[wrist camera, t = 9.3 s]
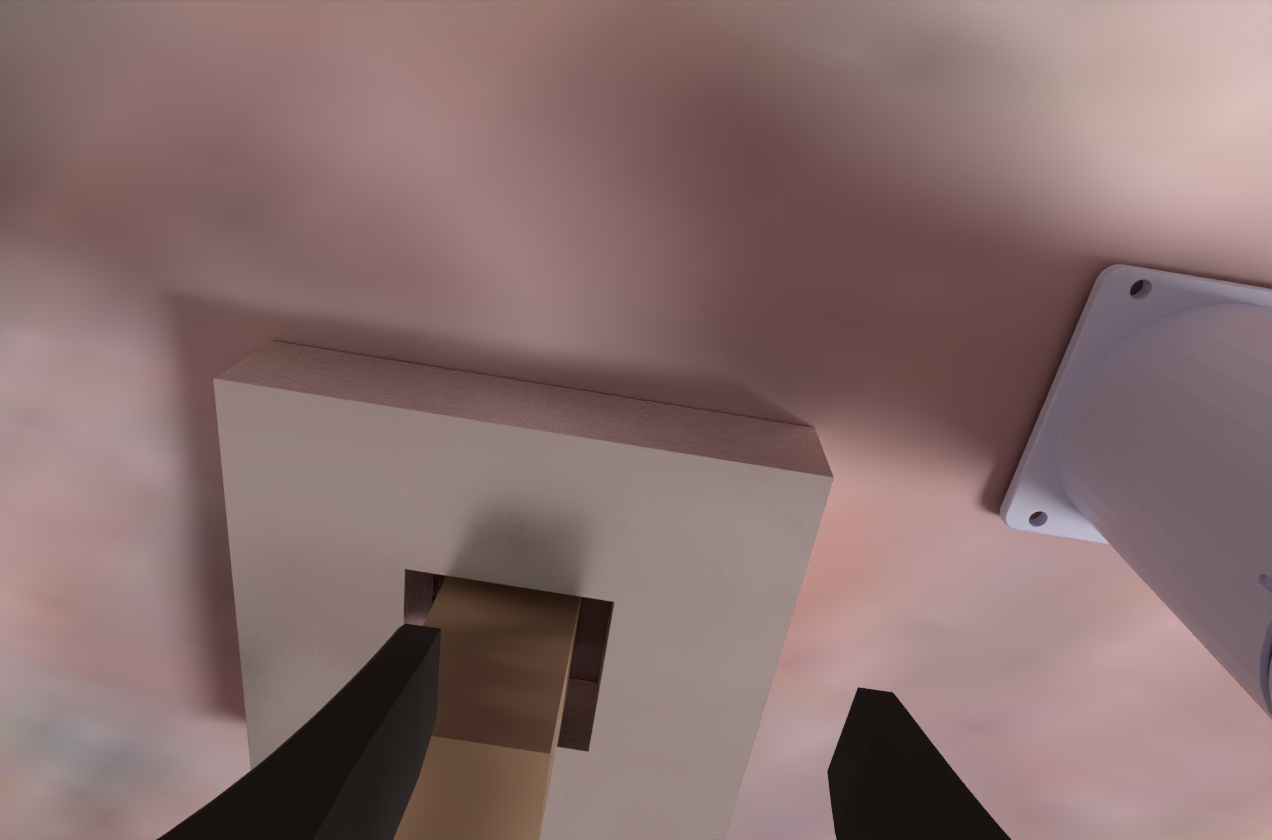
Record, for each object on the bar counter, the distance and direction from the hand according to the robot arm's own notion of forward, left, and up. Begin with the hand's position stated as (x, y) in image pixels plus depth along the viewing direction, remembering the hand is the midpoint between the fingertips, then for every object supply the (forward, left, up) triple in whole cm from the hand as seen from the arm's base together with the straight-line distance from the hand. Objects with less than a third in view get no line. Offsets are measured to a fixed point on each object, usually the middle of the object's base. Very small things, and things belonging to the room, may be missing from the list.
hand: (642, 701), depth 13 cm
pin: (+4, +6, -10) cm, 13 cm away
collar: (+4, +7, -10) cm, 13 cm away
